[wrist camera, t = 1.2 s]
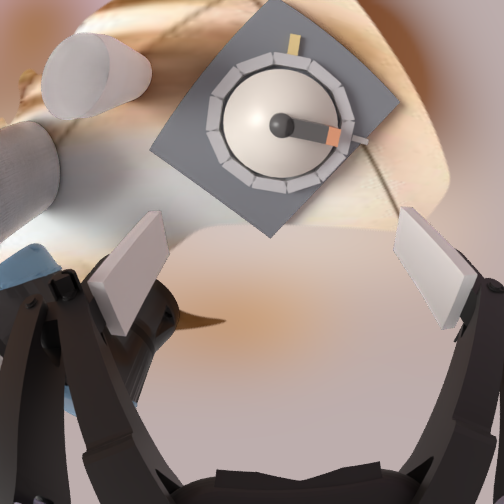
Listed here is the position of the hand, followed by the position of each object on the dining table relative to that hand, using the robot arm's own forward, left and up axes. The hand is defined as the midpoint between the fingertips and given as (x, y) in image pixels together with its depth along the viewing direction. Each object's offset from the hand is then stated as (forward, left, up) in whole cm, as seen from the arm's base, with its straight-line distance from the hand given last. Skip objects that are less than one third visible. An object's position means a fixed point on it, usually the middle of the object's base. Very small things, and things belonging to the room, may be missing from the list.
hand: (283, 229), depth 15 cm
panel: (+3, +3, -21) cm, 21 cm away
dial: (+3, +2, -19) cm, 19 cm away
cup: (-3, +21, -21) cm, 30 cm away
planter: (-23, +32, -21) cm, 44 cm away
